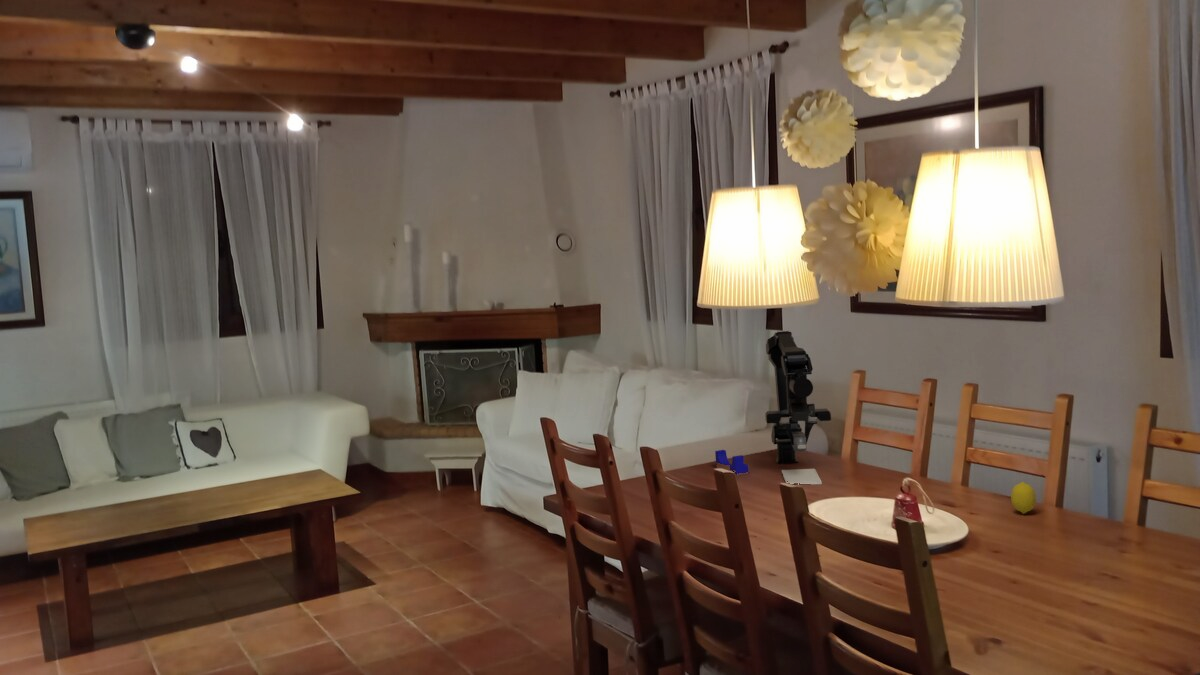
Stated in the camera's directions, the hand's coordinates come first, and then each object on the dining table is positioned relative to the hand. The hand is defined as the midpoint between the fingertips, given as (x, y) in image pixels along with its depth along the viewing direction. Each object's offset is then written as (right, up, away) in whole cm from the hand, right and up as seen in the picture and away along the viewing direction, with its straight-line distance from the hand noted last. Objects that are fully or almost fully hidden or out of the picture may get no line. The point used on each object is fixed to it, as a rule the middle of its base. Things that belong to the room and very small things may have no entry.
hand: (799, 444), depth 282 cm
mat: (+1, -10, 0) cm, 10 cm away
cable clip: (-18, -10, +14) cm, 25 cm away
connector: (0, -1, -1) cm, 2 cm away
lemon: (+45, -12, -50) cm, 68 cm away
